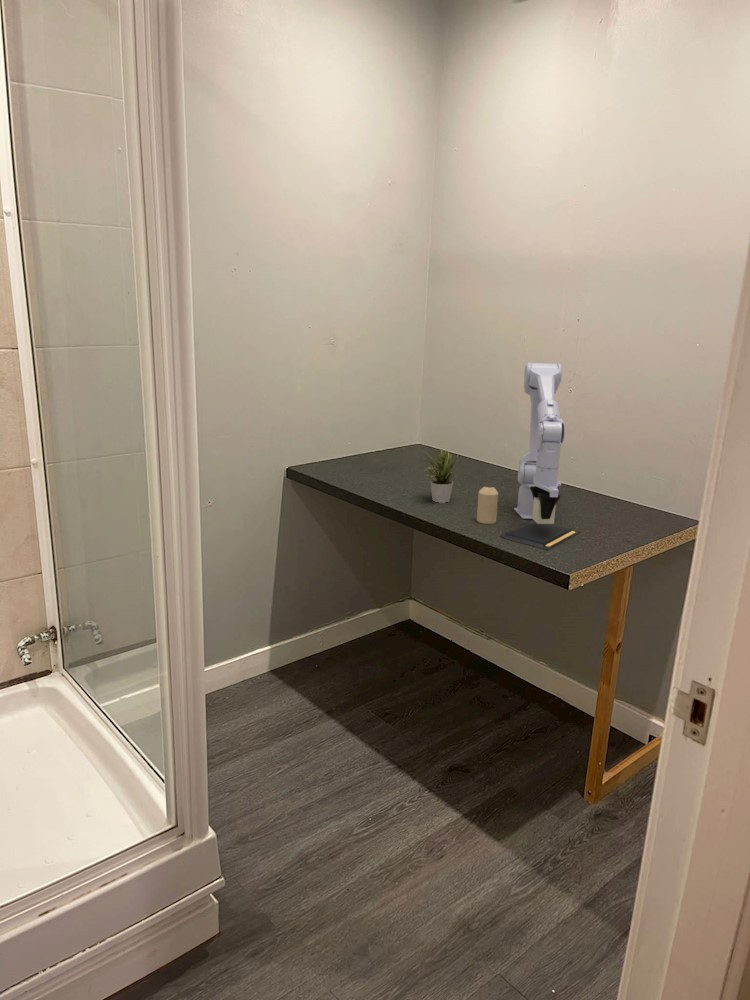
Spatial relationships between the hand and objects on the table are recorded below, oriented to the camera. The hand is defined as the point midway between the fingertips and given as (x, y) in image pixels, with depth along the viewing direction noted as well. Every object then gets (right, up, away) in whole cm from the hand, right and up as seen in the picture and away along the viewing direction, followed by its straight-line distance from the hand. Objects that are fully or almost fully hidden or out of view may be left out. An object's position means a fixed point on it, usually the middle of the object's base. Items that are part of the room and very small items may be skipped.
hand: (542, 515), depth 192 cm
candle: (-13, -2, +12) cm, 18 cm away
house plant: (-25, +4, +31) cm, 40 cm away
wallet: (0, -6, +2) cm, 6 cm away
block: (0, -1, 0) cm, 2 cm away
